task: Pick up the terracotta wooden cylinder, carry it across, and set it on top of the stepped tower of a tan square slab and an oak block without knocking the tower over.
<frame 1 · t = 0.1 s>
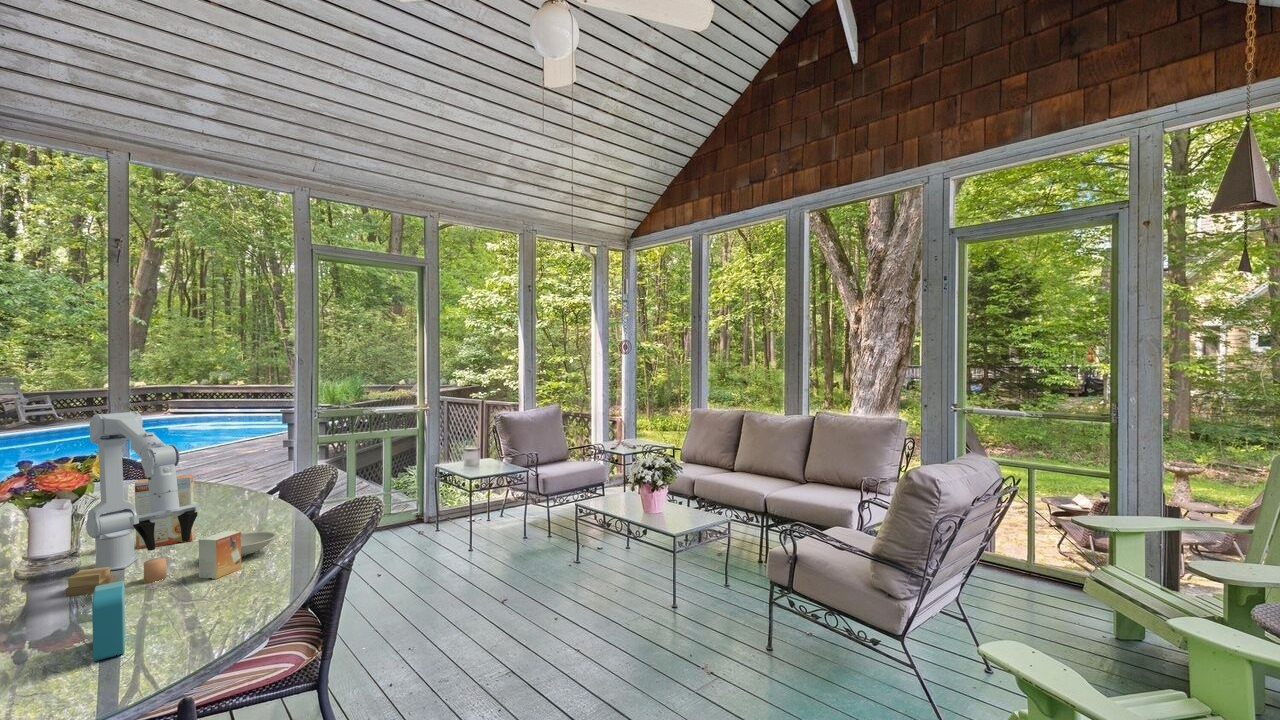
hand: (169, 545, 149), 10 cm above the table, tool pointing down, fingers open, 7 cm apart
tan square slab: (90, 591, 148), on the table
cracker box: (166, 543, 184), on the table
terracotta cylinder: (155, 579, 153), on the table
small box: (220, 574, 157), on the table
oak top block: (89, 581, 147), point 2 cm above the table
dish: (242, 556, 171), on the table
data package: (110, 649, 117), on the table
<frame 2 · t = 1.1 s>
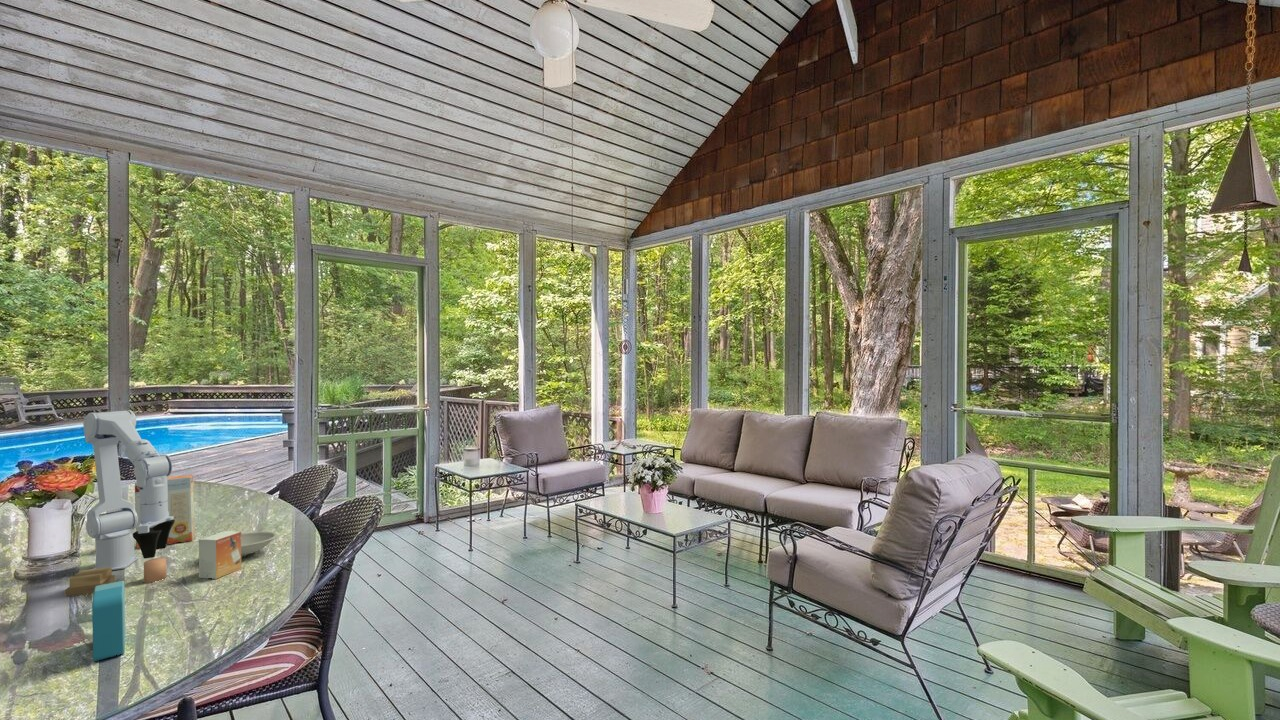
hand: (155, 553, 153), 7 cm above the table, tool pointing down, fingers open, 7 cm apart
nothing on the table moved.
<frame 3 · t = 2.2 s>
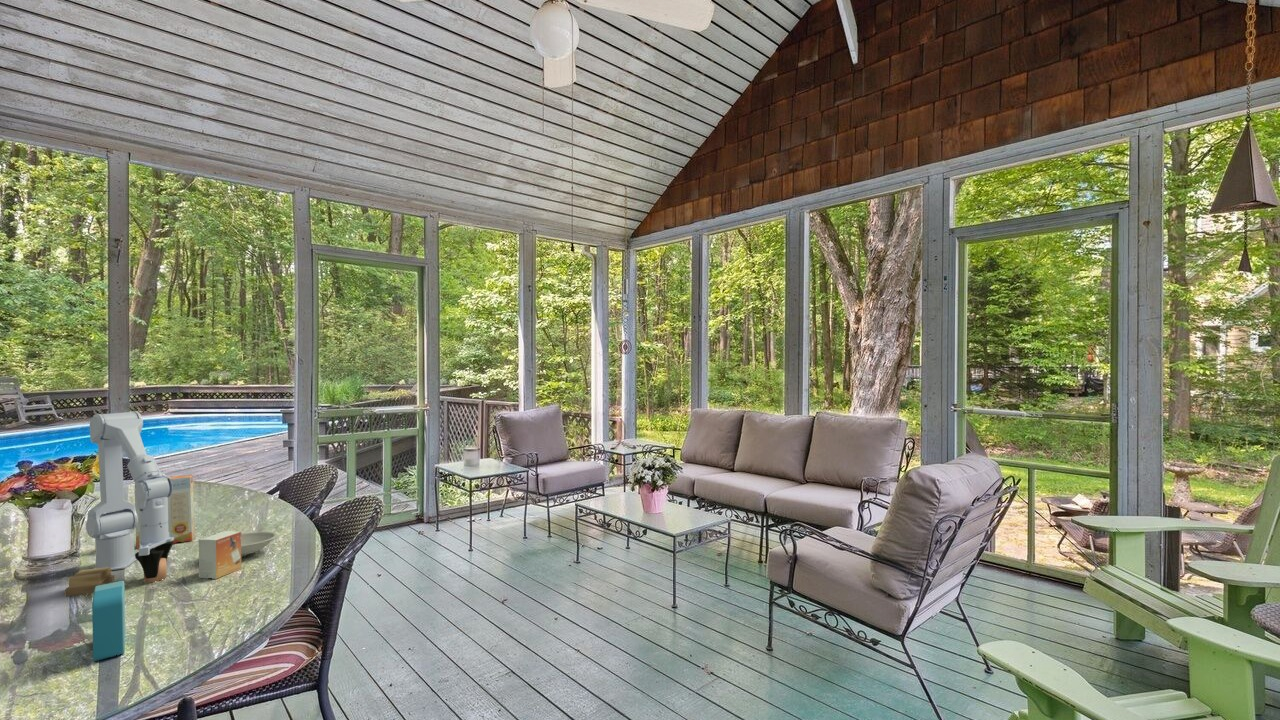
hand: (155, 574, 153), 1 cm above the table, tool pointing down, fingers closed on terracotta cylinder, 5 cm apart
tan square slab: (90, 590, 148), on the table, touching oak top block
terracotta cylinder: (155, 579, 153), on the table, touching gripper
oak top block: (90, 581, 147), point 2 cm above the table, touching tan square slab
everything else where it was.
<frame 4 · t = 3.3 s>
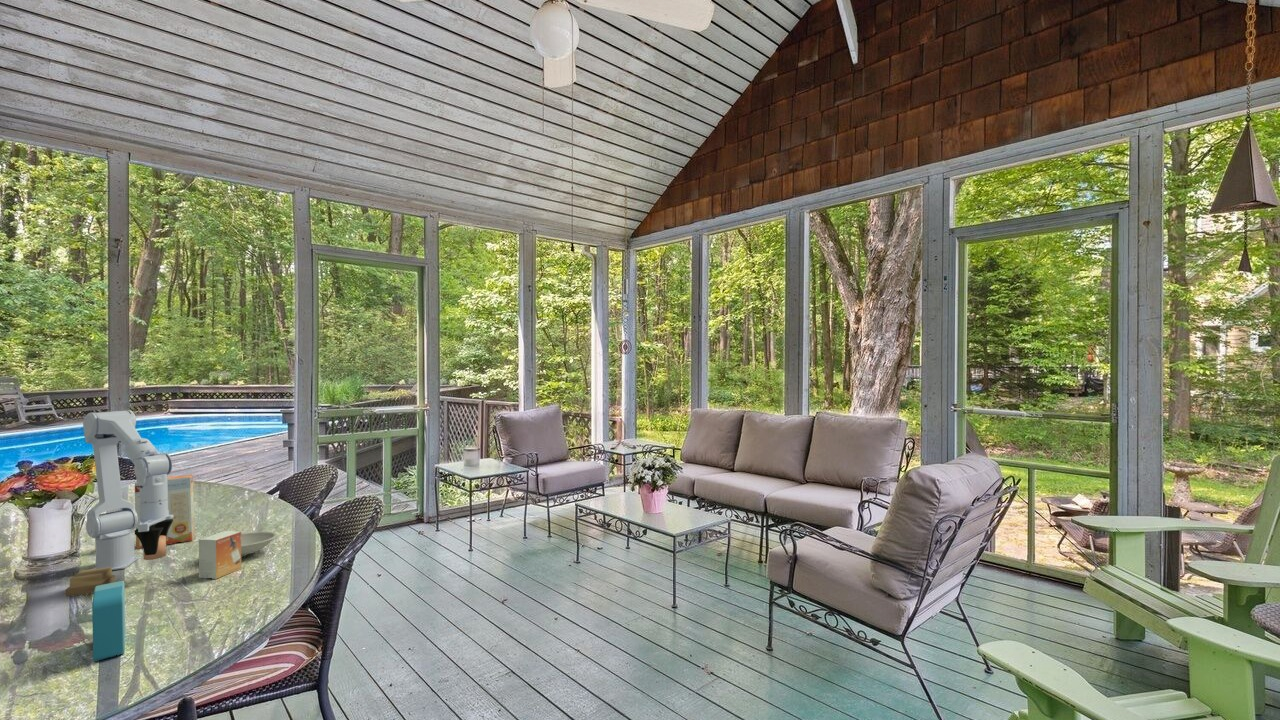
hand: (154, 551, 153), 8 cm above the table, tool pointing down, fingers closed on terracotta cylinder, 5 cm apart
tan square slab: (91, 591, 148), on the table
terracotta cylinder: (154, 556, 153), point 6 cm above the table, touching gripper
oak top block: (91, 581, 148), point 2 cm above the table
everything else where it was.
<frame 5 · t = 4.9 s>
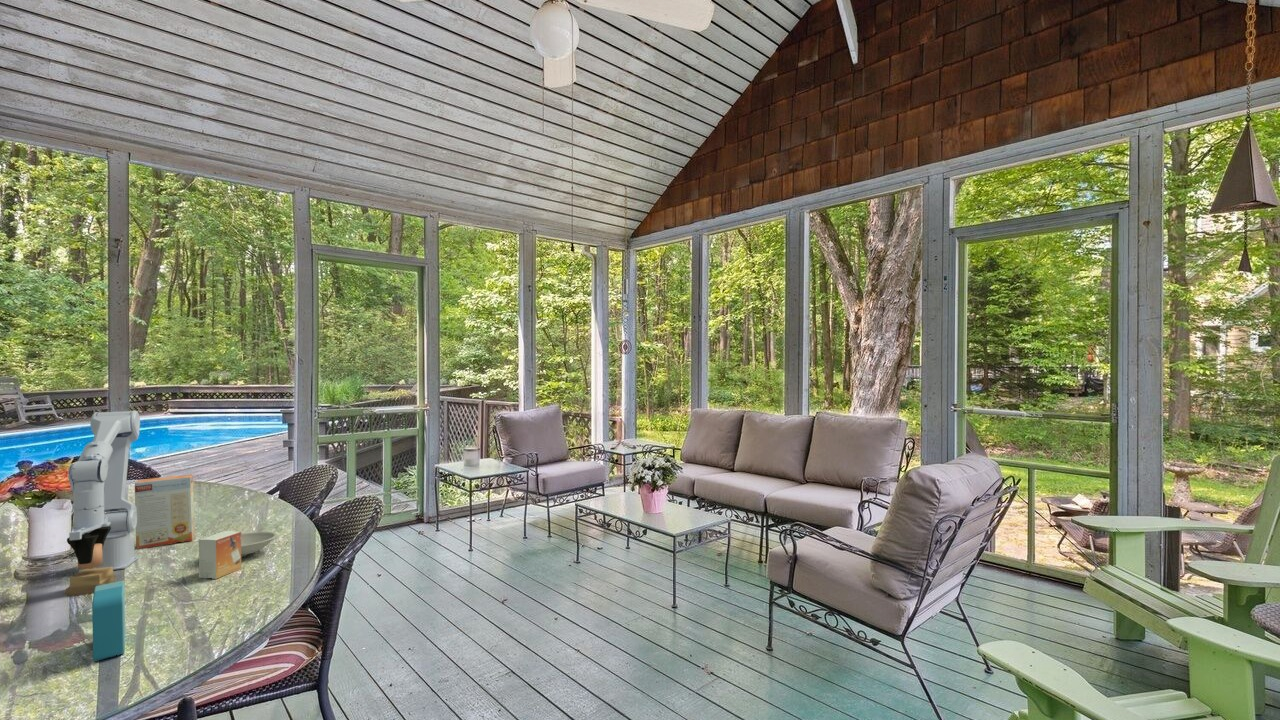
hand: (90, 560, 148), 7 cm above the table, tool pointing down, fingers closed on terracotta cylinder, 4 cm apart
tan square slab: (91, 591, 148), on the table, touching oak top block
terracotta cylinder: (90, 565, 148), point 6 cm above the table, touching gripper
oak top block: (92, 581, 148), point 2 cm above the table, touching tan square slab
everything else where it was.
when the fingers open (7 cm above the table, at t = 5.1 s): terracotta cylinder drops 2 cm, point 4 cm above the table.
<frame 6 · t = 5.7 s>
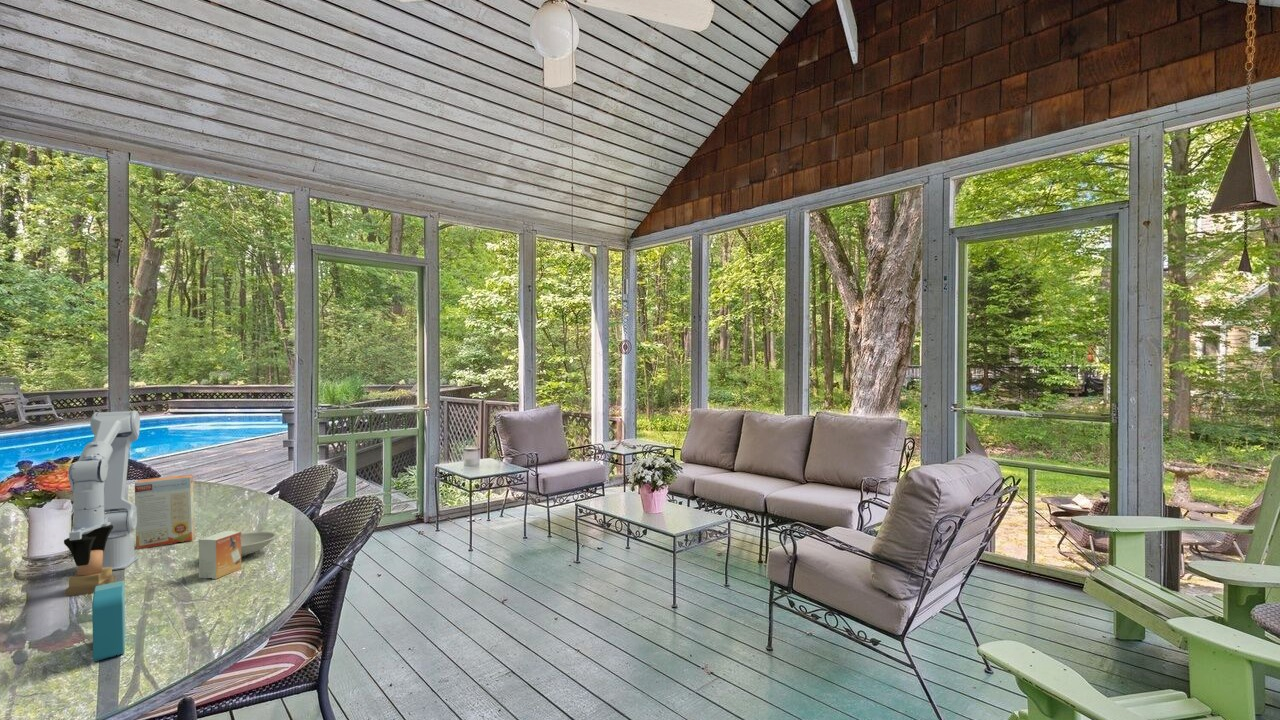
hand: (90, 560, 148), 7 cm above the table, tool pointing down, fingers open, 7 cm apart
terracotta cylinder: (89, 572, 147), point 4 cm above the table
everything else where it was.
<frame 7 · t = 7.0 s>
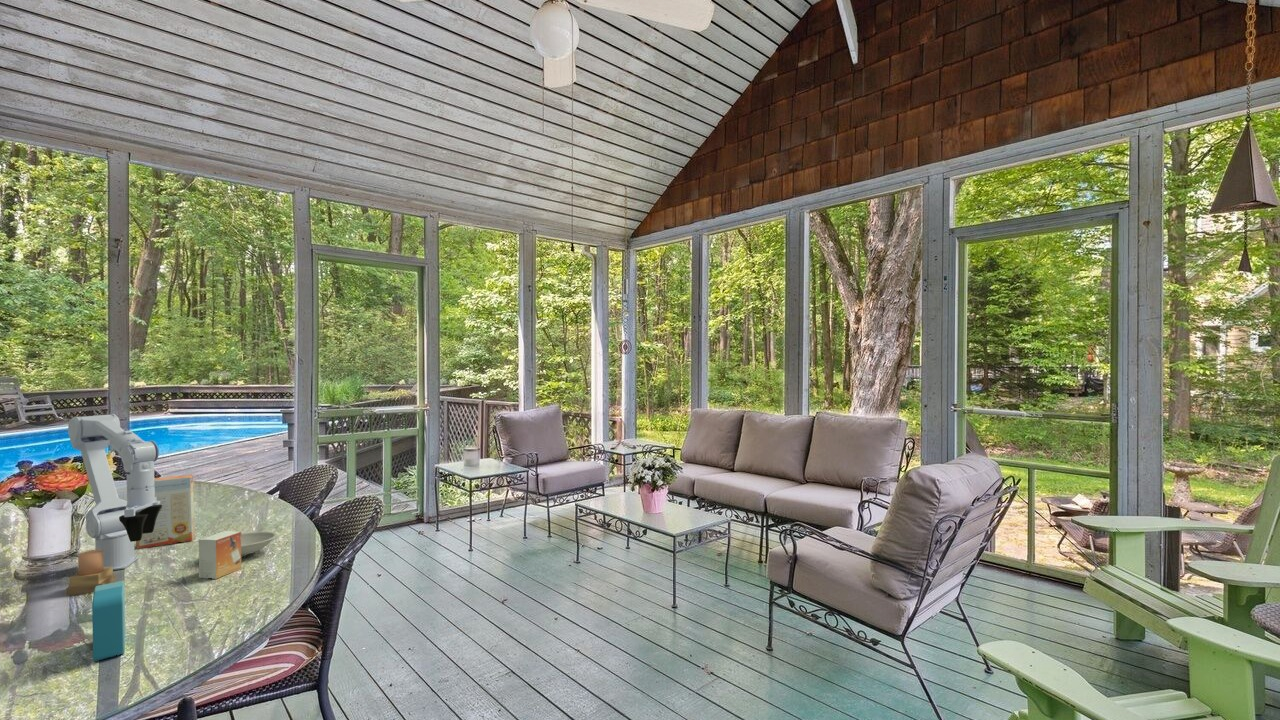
hand: (141, 536, 157), 10 cm above the table, tool pointing down, fingers open, 7 cm apart
terracotta cylinder: (91, 572, 148), point 4 cm above the table, touching oak top block
oak top block: (91, 581, 148), point 2 cm above the table, touching terracotta cylinder, tan square slab
everything else where it was.
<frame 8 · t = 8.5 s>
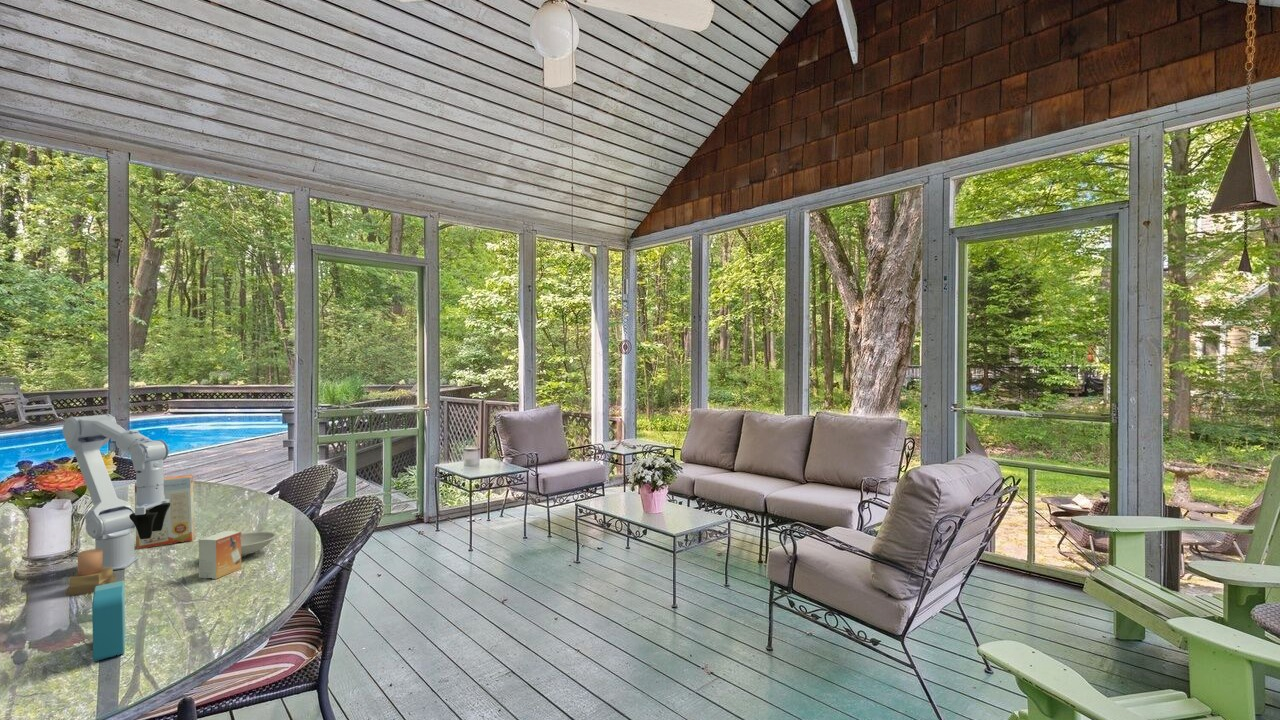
hand: (151, 534, 159), 10 cm above the table, tool pointing down, fingers open, 7 cm apart
nothing on the table moved.
at the end: terracotta cylinder 0.3 cm off-centre on the oak top block, point 2.7 cm above the oak top block's base; oak top block 0.1 cm off-centre on the tan square slab, point 2.4 cm above the tan square slab's base; oak top block tilted 0° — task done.
